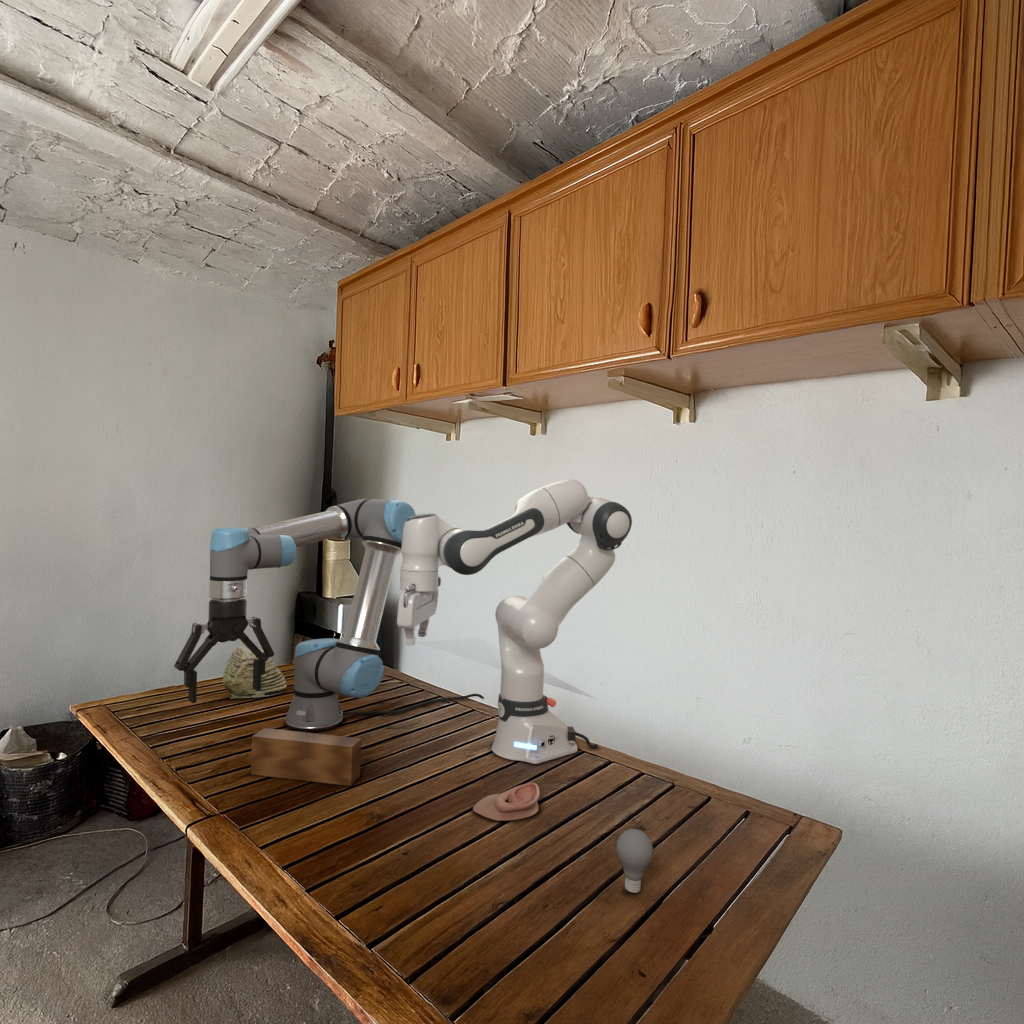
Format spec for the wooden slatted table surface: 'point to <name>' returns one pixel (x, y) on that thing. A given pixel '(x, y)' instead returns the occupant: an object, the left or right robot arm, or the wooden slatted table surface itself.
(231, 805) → the wooden slatted table surface
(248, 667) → the fossil
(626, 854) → the light bulb
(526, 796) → the anatomical model
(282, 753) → the bar
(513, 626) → the right robot arm
